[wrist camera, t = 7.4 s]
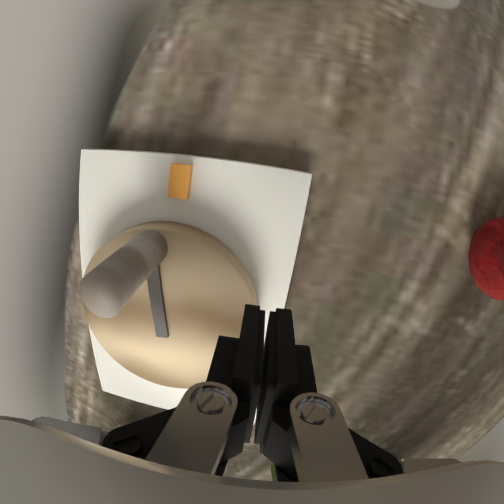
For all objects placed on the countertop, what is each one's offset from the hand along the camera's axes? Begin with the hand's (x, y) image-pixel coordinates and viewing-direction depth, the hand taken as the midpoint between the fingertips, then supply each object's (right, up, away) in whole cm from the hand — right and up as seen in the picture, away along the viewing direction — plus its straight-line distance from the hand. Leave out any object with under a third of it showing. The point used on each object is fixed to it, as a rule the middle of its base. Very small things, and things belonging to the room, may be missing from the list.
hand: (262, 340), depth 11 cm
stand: (-6, -1, +11) cm, 13 cm away
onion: (+18, +4, +8) cm, 20 cm away
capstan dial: (-6, 0, +9) cm, 11 cm away
